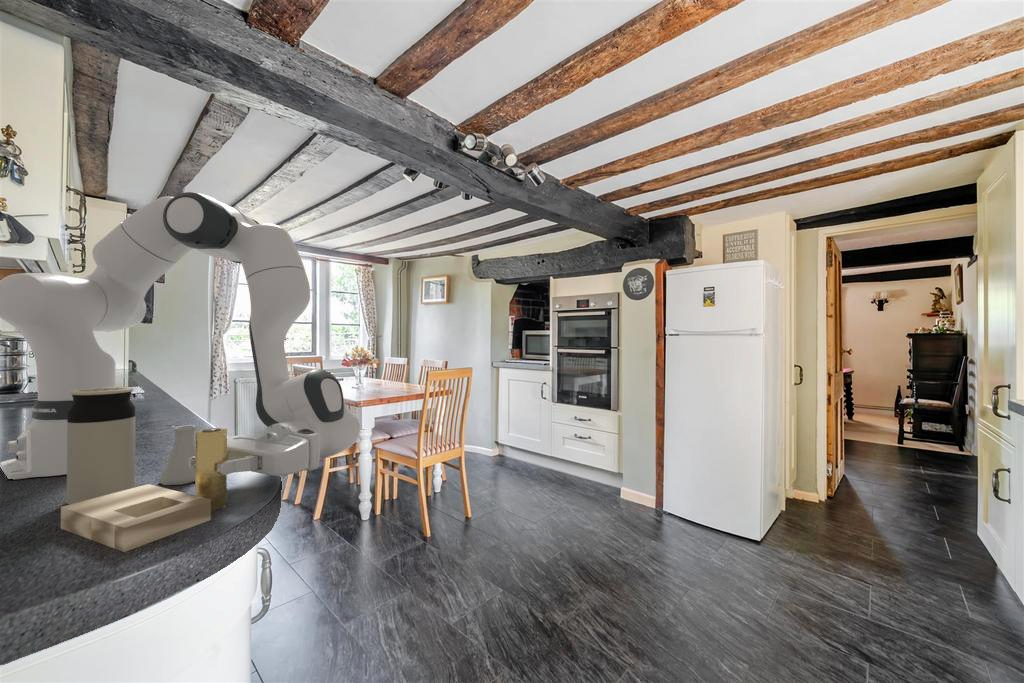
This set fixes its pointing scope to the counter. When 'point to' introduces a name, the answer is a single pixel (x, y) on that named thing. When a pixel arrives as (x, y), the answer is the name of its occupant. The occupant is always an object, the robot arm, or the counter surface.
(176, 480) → the flask
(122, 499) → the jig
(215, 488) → the gold metal post
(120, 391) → the travel mug
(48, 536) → the counter surface
